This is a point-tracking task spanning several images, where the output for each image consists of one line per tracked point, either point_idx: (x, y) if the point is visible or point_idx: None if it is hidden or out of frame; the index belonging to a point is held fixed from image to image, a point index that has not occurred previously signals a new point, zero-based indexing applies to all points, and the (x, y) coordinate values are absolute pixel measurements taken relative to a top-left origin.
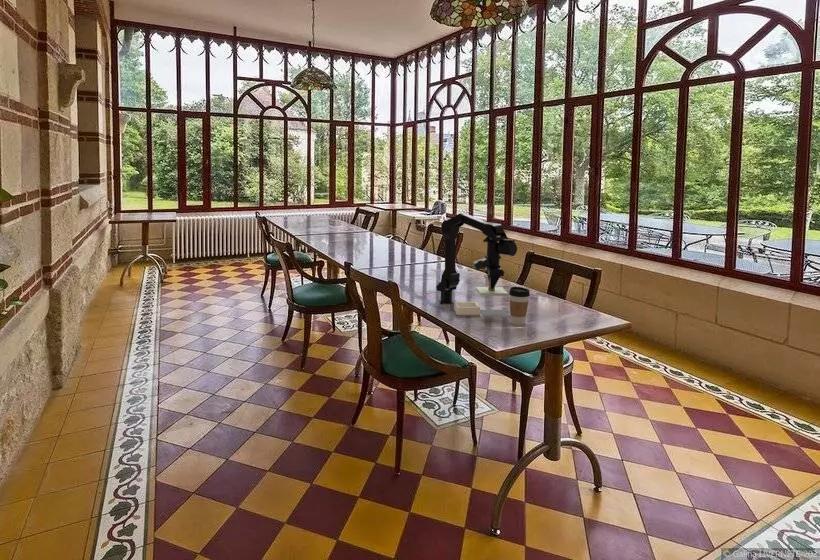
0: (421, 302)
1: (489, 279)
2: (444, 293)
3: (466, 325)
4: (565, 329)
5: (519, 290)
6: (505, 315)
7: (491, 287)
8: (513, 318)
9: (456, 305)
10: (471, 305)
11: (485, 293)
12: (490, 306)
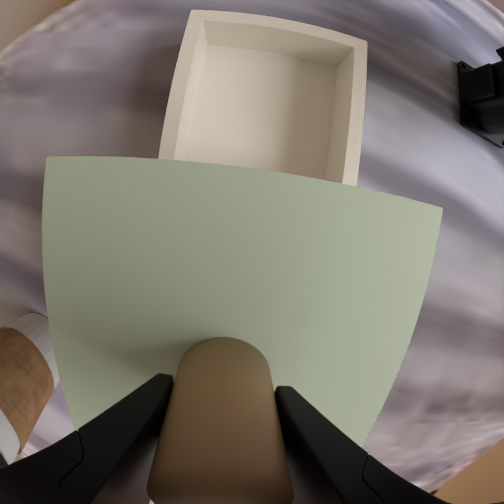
0: (471, 16)
1: (315, 479)
2: (498, 65)
3: (33, 77)
4: None
5: None
6: None
7: (148, 386)
8: (4, 326)
9: (252, 15)
10: (335, 163)
11: (43, 227)
12: None
